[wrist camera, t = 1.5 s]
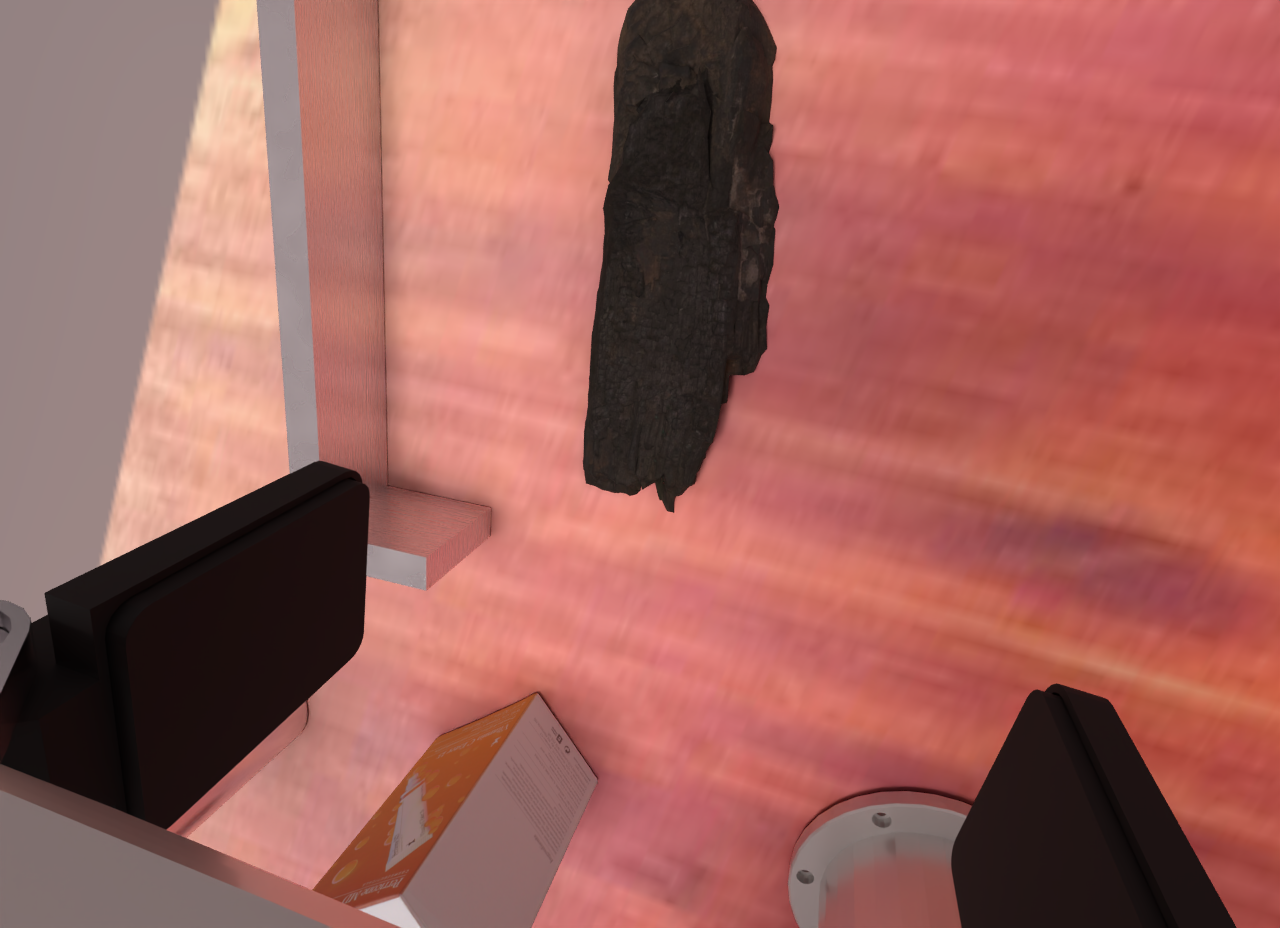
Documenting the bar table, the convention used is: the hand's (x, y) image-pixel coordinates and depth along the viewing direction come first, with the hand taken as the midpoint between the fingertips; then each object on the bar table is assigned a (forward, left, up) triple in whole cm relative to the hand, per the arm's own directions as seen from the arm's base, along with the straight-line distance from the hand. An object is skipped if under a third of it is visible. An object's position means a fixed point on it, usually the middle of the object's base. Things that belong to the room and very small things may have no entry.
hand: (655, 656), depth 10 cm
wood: (+5, -4, -22) cm, 23 cm away
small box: (+11, +24, -22) cm, 34 cm away
